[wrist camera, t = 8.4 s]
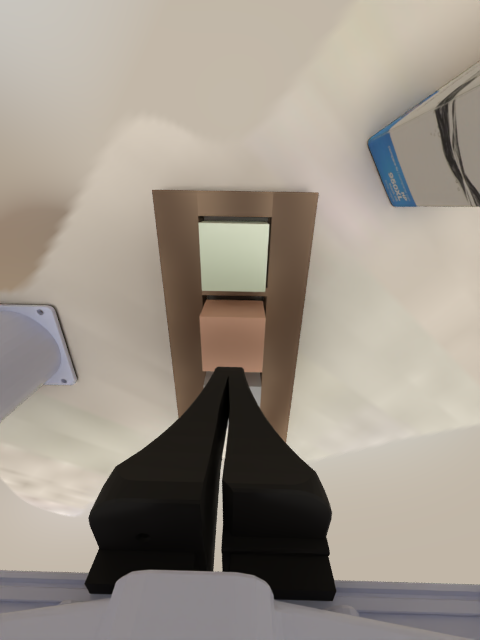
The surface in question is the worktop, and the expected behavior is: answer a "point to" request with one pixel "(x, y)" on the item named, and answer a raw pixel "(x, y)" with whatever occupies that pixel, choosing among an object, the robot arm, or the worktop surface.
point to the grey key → (253, 383)
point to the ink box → (434, 148)
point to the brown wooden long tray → (279, 297)
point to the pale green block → (233, 255)
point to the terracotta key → (232, 334)
